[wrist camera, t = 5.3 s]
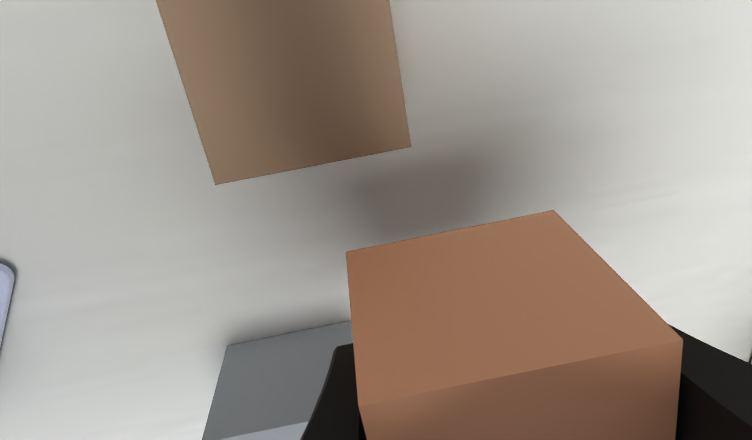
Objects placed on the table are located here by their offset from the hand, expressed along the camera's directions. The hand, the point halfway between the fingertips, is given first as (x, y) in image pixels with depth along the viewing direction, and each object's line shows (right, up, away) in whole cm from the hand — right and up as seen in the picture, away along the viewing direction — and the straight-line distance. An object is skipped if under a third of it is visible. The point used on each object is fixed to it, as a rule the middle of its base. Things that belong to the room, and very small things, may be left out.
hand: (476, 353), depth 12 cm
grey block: (-5, -4, +10) cm, 12 cm away
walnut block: (-5, +9, +5) cm, 11 cm away
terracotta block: (0, +1, +1) cm, 1 cm away
